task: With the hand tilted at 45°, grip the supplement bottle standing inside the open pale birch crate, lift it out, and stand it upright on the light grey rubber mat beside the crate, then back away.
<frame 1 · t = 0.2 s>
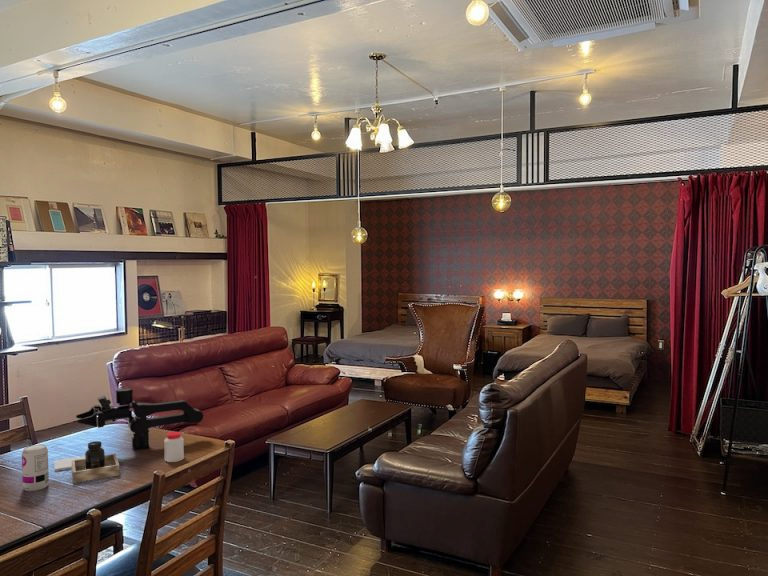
hand: (76, 418, 244), 17 cm above the table, tool horizontal, fingers open, 9 cm apart
supplement bottle: (95, 473, 225), resting in crate
pill bottle: (174, 459, 241), on the table
supplement can: (35, 488, 210), on the table
crate: (95, 472, 225), on the table
mat: (71, 464, 235), on the table
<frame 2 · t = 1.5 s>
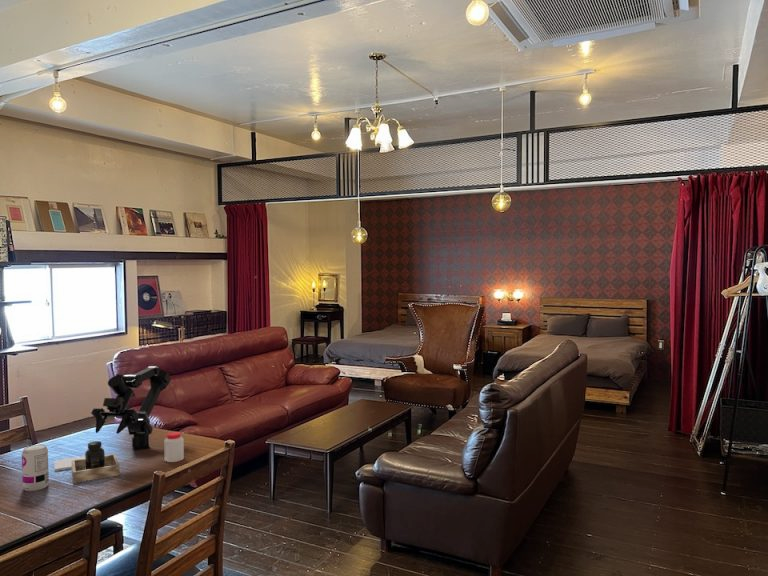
hand: (106, 432, 233), 14 cm above the table, tool tilted 45°, fingers open, 9 cm apart
nothing on the table moved.
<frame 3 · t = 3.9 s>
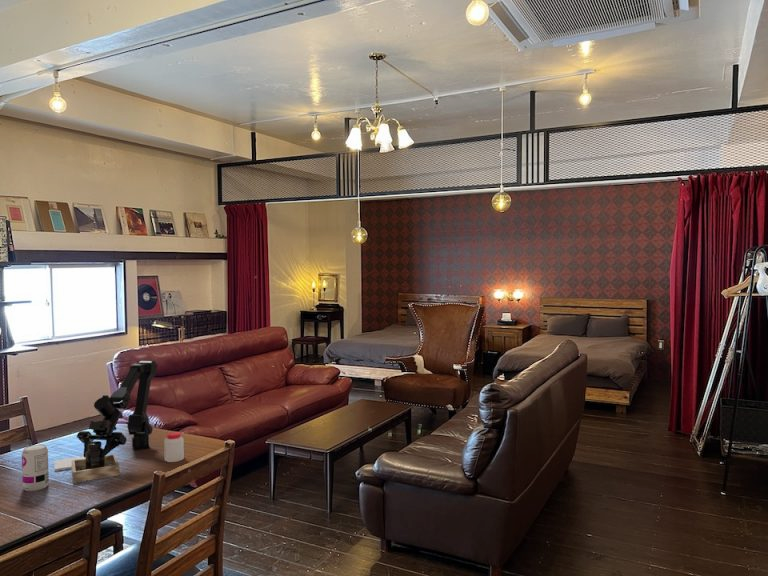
hand: (92, 457, 224), 7 cm above the table, tool tilted 45°, fingers closed on supplement bottle, 7 cm apart
supplement bottle: (95, 473, 225), resting in crate, touching gripper
everything else where it was.
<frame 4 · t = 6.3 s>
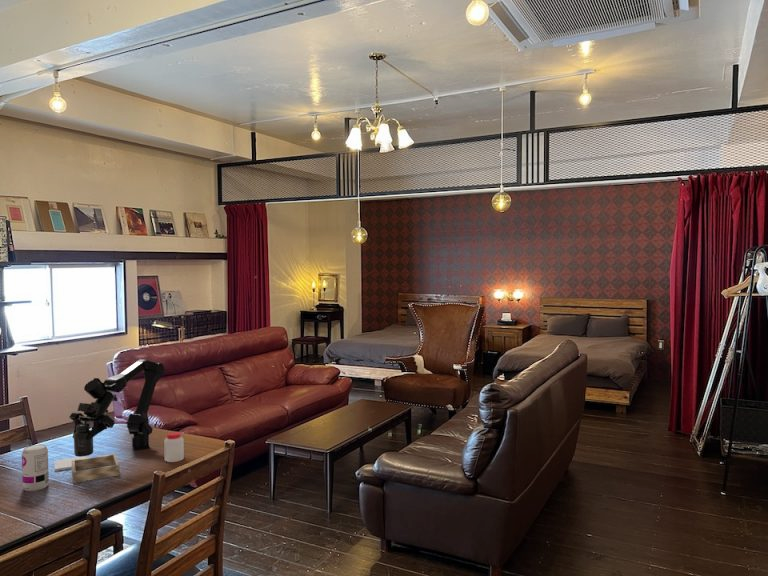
hand: (80, 438, 226), 13 cm above the table, tool tilted 45°, fingers closed on supplement bottle, 7 cm apart
supplement bottle: (84, 454, 228), point 6 cm above the table, touching gripper
everything else where it was.
when the fingers open (9 cm above the table, at t = 8.7 s): supplement bottle drops 1 cm, resting on mat.
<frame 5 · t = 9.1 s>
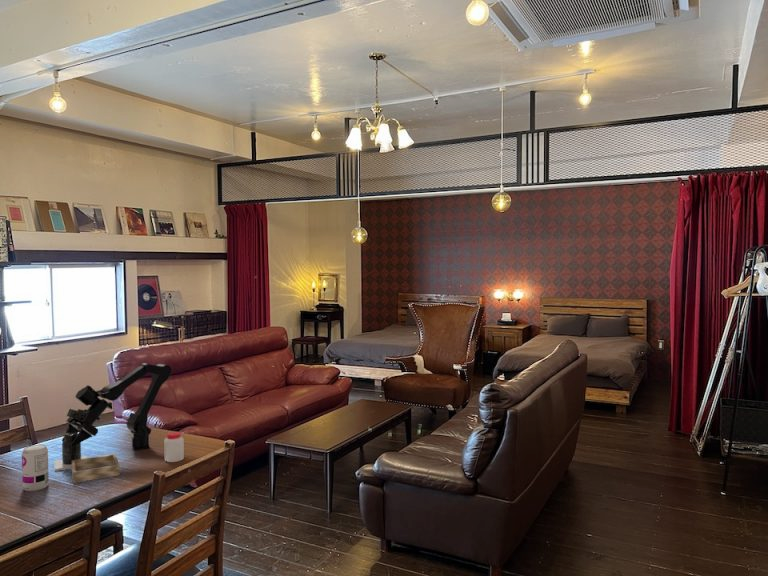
hand: (67, 443, 234), 9 cm above the table, tool tilted 45°, fingers open, 9 cm apart
supplement bottle: (71, 462, 235), point 1 cm above the table, touching mat
everything else where it was.
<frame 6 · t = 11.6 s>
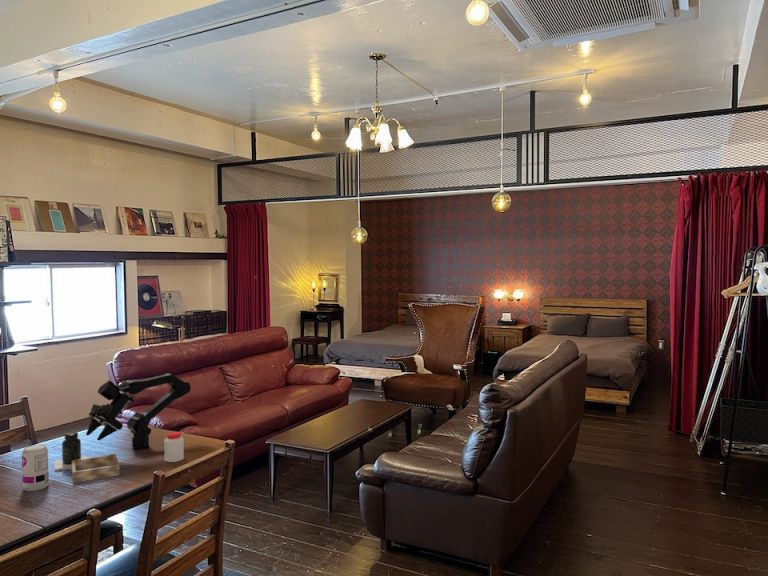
hand: (92, 437, 241), 9 cm above the table, tool tilted 40°, fingers open, 9 cm apart
nothing on the table moved.
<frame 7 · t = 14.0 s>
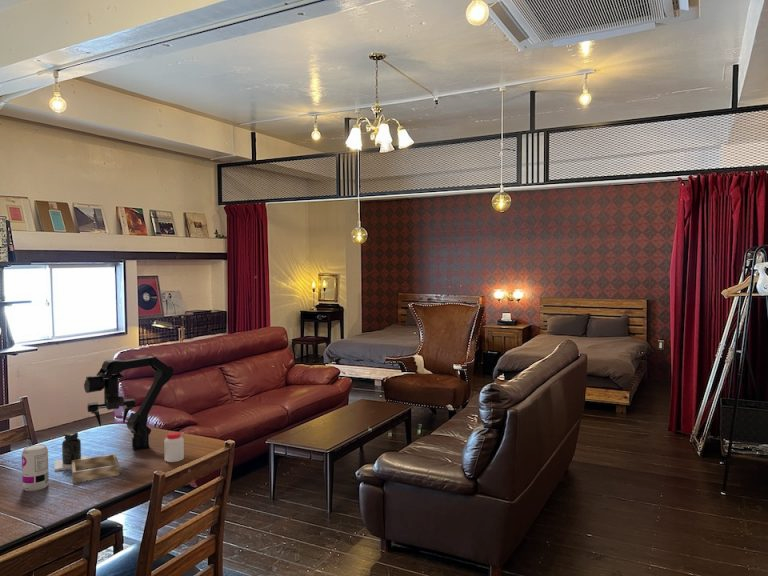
hand: (112, 424, 248), 13 cm above the table, tool pointing down, fingers open, 9 cm apart
nothing on the table moved.
at the end: supplement bottle inside the target area on the mat (0.2 cm from its centre), point 0.8 cm above the mat's base; supplement bottle tilted 0°; the gripper is holding nothing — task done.
